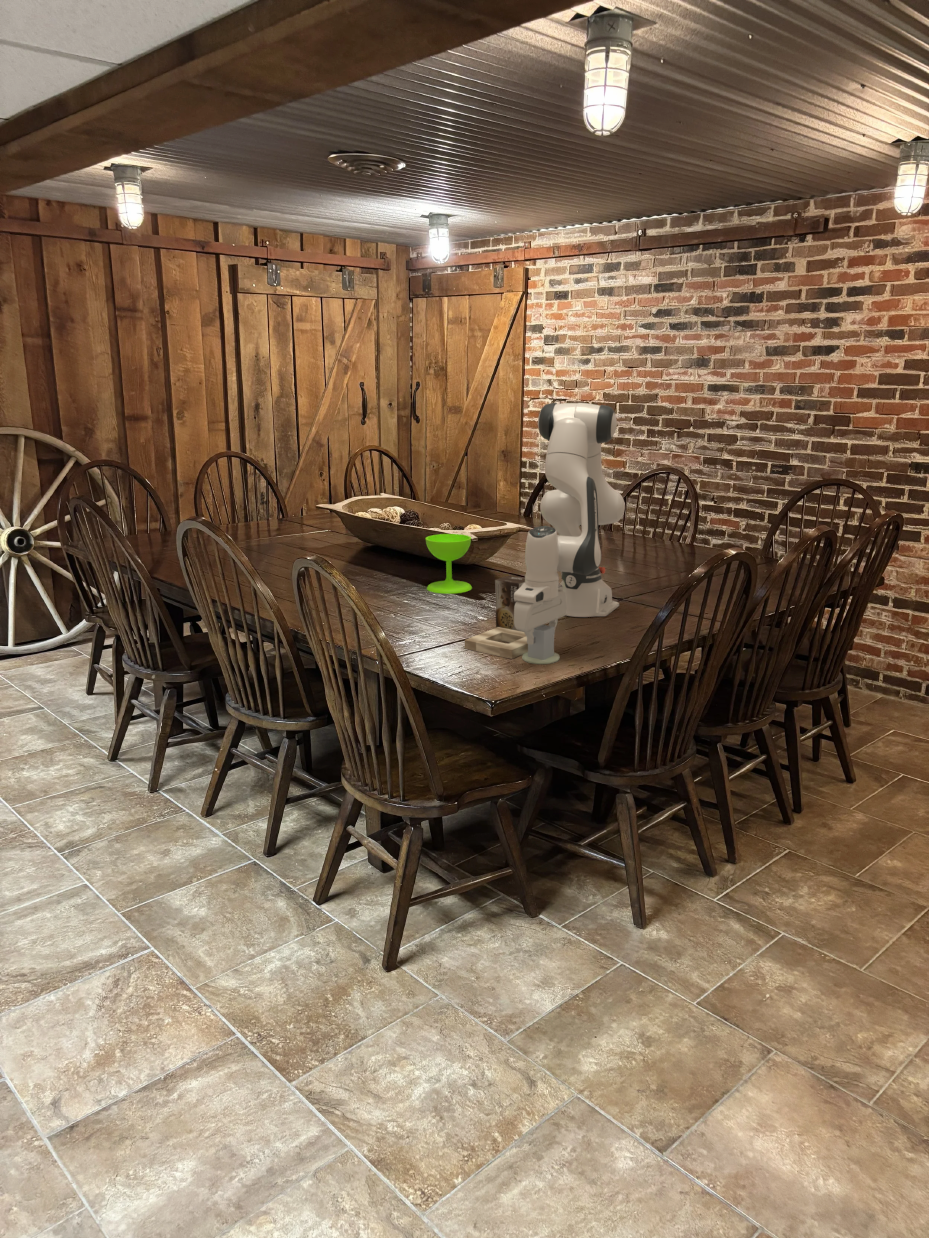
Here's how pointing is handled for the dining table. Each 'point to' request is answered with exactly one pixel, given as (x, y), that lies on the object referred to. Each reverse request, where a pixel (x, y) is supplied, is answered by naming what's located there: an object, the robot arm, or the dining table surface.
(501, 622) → the coffee box
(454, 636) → the dining table surface
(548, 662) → the pad
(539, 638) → the block
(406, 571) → the dining table surface
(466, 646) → the pocket board
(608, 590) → the robot arm
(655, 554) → the dining table surface
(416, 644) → the dining table surface
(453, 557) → the wineglass
